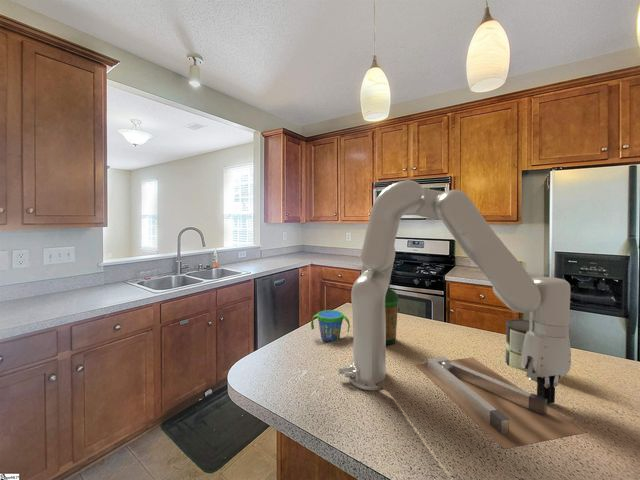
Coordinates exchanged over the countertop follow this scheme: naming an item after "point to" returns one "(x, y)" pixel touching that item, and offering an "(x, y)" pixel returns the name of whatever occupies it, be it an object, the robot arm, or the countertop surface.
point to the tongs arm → (498, 387)
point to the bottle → (391, 315)
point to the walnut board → (508, 411)
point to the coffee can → (515, 342)
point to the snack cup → (330, 324)
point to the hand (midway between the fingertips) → (545, 399)
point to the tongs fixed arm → (469, 396)
